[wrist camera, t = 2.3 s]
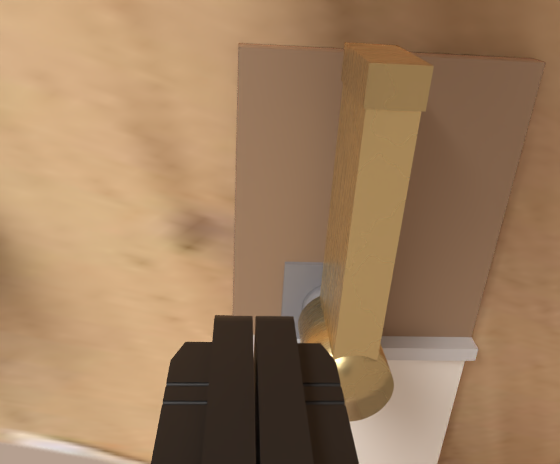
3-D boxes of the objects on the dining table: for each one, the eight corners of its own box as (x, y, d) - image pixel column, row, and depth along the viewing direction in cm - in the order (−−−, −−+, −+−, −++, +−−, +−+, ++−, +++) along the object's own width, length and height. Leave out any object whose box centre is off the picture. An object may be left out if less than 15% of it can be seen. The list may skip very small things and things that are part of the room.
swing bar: (365, 352, 27) (387, 423, 23) (295, 351, 27) (304, 423, 23) (415, 45, 21) (459, 67, 16) (323, 40, 20) (343, 61, 16)
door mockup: (238, 43, 23) (237, 57, 19) (534, 58, 24) (582, 75, 20) (229, 453, 34) (228, 508, 30) (431, 452, 35) (452, 505, 31)
